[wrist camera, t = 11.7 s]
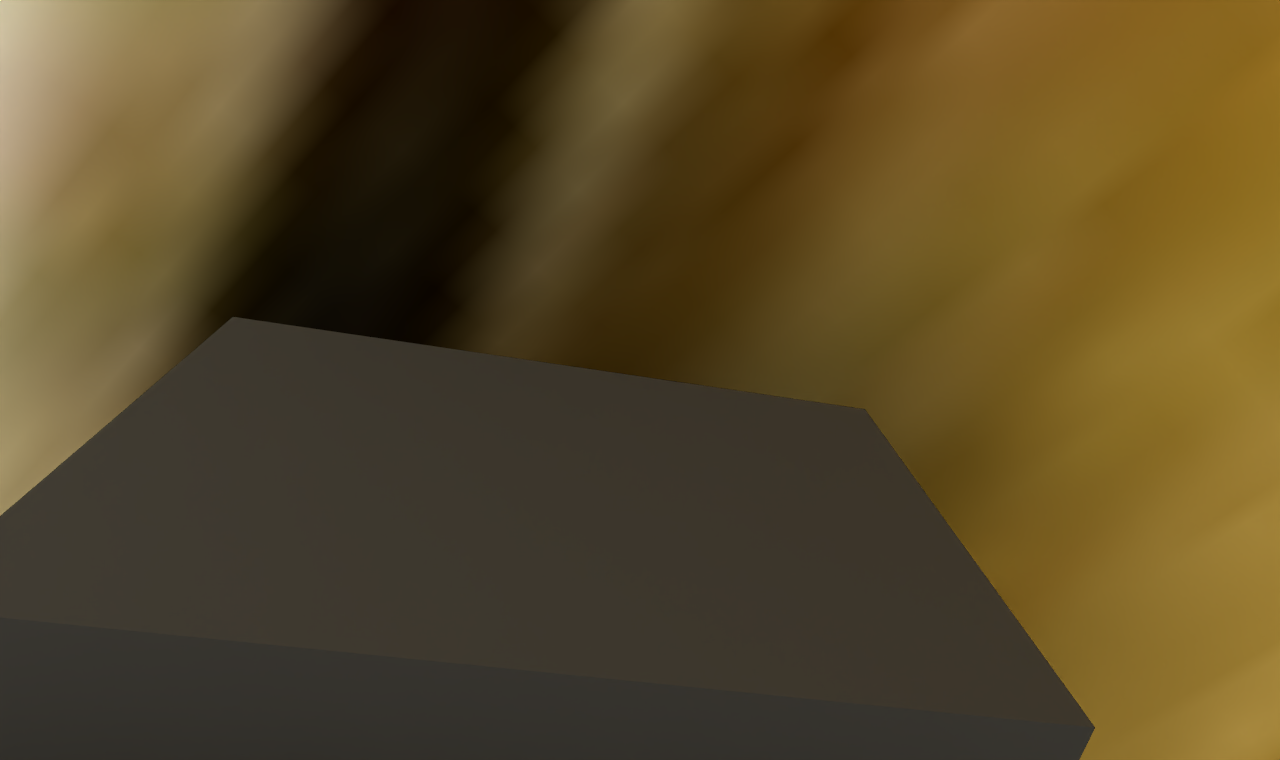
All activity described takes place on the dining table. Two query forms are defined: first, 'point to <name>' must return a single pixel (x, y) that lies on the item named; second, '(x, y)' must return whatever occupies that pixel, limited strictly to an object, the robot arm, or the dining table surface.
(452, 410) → the plug
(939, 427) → the dining table surface
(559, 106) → the dining table surface
